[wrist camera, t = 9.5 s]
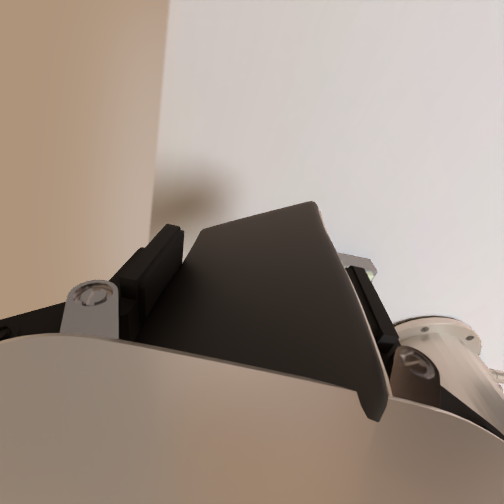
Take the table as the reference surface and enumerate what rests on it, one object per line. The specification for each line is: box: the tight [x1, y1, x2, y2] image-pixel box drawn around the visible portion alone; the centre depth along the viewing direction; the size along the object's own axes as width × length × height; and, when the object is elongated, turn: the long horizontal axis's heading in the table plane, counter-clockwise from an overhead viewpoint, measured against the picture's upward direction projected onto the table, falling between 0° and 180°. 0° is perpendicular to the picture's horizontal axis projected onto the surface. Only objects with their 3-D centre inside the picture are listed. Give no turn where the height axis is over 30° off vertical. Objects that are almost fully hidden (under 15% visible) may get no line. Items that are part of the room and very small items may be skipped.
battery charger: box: [133, 201, 393, 422], centre depth 10 cm, size 7×4×11 cm, turn 108°
